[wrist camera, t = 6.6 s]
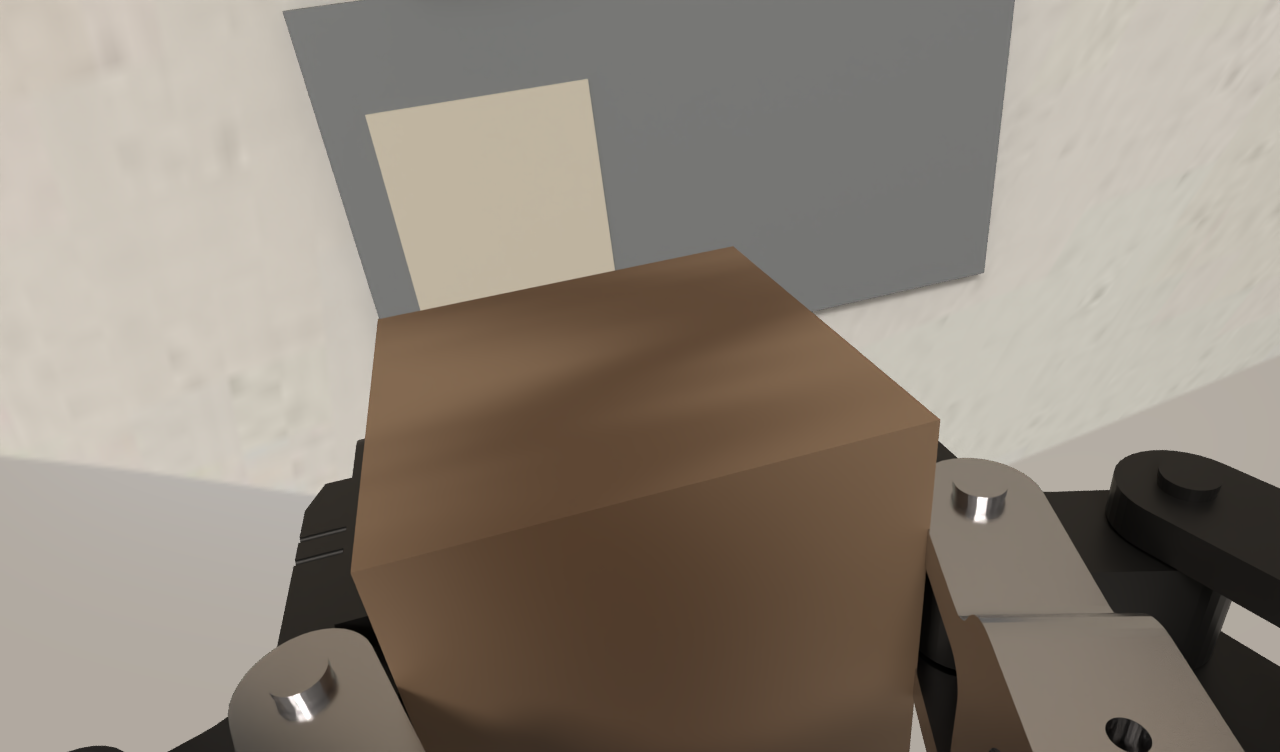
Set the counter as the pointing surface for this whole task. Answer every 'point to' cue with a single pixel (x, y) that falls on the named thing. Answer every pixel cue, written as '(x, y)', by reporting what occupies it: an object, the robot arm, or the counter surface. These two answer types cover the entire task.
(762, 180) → the build mat
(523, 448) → the walnut block
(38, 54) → the counter surface
